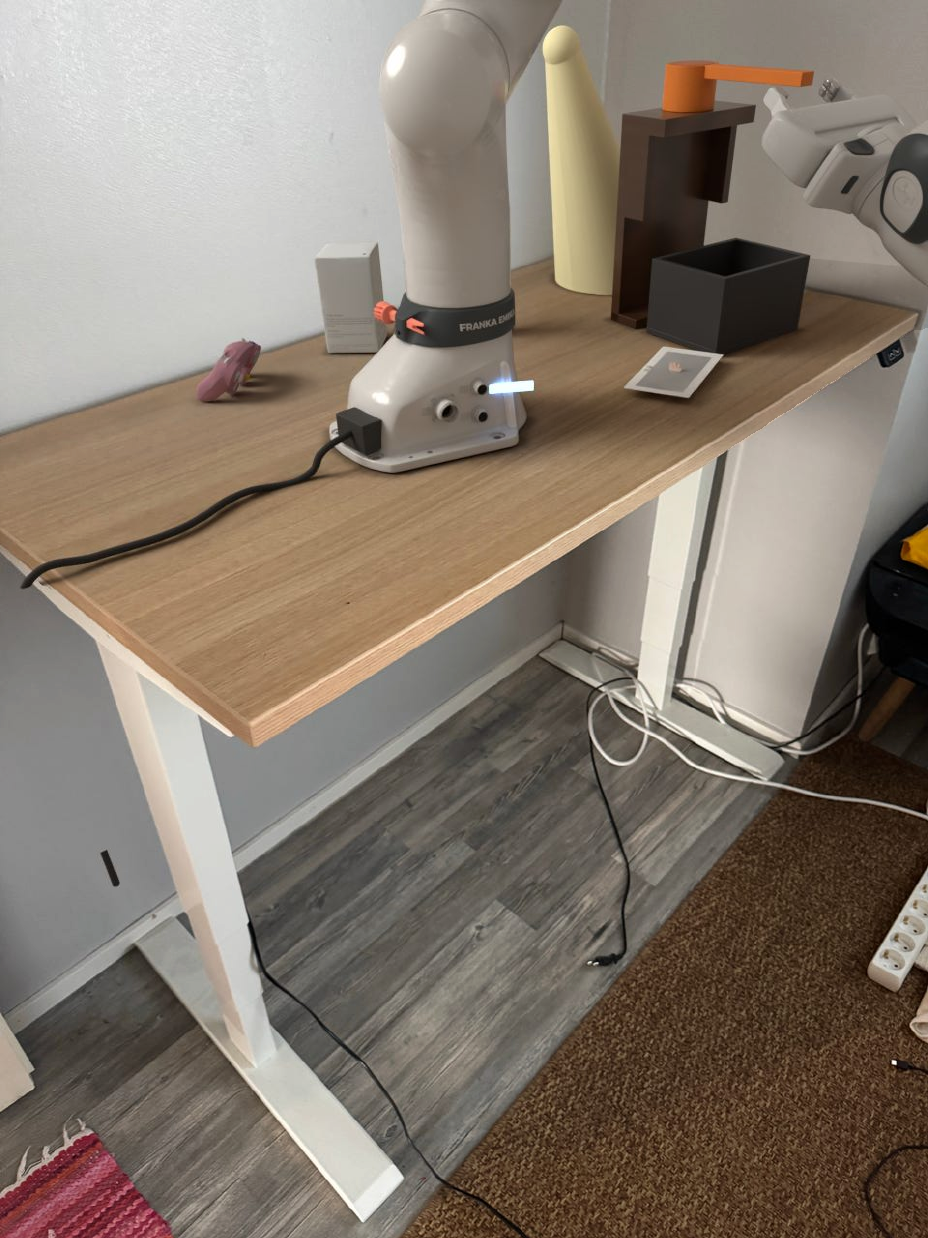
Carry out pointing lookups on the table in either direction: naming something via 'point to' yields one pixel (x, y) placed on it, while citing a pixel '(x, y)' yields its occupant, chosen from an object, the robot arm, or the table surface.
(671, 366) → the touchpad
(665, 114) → the shelf stand
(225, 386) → the video game controller
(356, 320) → the white packaging box
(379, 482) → the table surface
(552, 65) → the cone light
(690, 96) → the orange croquet mallet
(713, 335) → the basket
